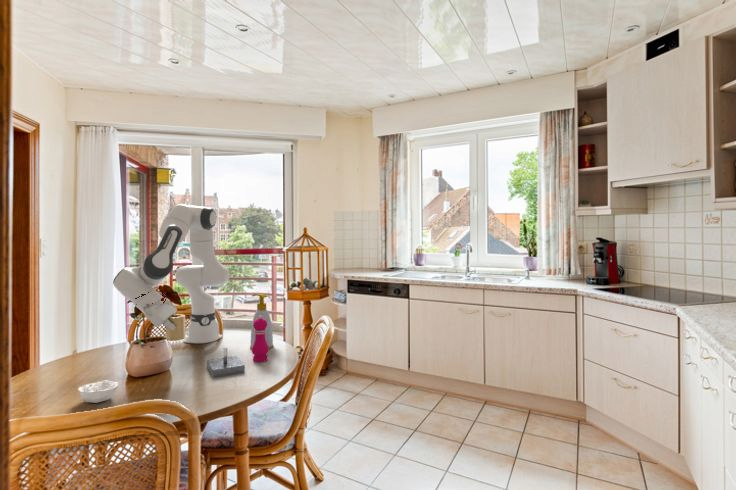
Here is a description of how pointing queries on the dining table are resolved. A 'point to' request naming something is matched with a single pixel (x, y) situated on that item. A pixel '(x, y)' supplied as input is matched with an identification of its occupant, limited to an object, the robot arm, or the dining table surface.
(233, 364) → the shaft block
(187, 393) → the dining table surface
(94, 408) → the dining table surface
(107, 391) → the cell model
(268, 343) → the soap bottle
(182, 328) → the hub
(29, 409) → the dining table surface
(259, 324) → the pepper mill
